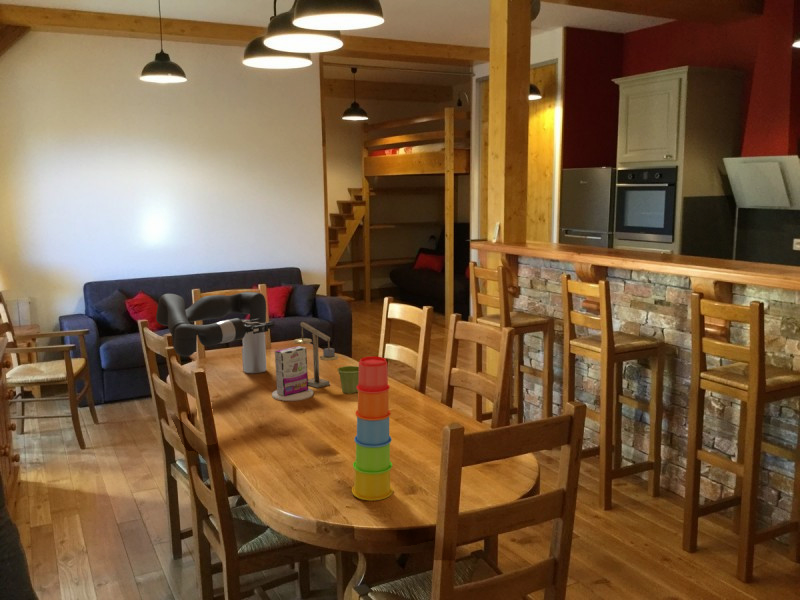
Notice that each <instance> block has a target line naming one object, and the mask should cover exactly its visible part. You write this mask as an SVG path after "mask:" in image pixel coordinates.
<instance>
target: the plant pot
mask: <svg viewBox="0 0 800 600" xmlns="http://www.w3.org/2000/svg"><path fill="white" fill-rule="evenodd" d="M337 371H338V375H339V378H340V379H339V381H340V385H341V391H342V393H344V394H350V395H351V394H355V393H358V390H357V388H356V387H357V385H358V381H359V365H358V366H357V365H356V366H355V365H345V366H341V367H338V368H337Z"/></svg>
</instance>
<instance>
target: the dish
mask: <svg viewBox="0 0 800 600" xmlns="http://www.w3.org/2000/svg"><path fill="white" fill-rule="evenodd" d="M271 395H272V397H271V398H273V399H274V400H276V399H278V400H277V401H281V400H282V401H283V402H295V401H296V402H297V401H303V400H307V399H309V398H311V397H313V395H314V390H313V389H312V388H310V387H308V390H307V391H303V392H300V393H296V394H292V395H288V396H281V395H278V394H277V389H276V390H273V391H272V393H271Z"/></svg>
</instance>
